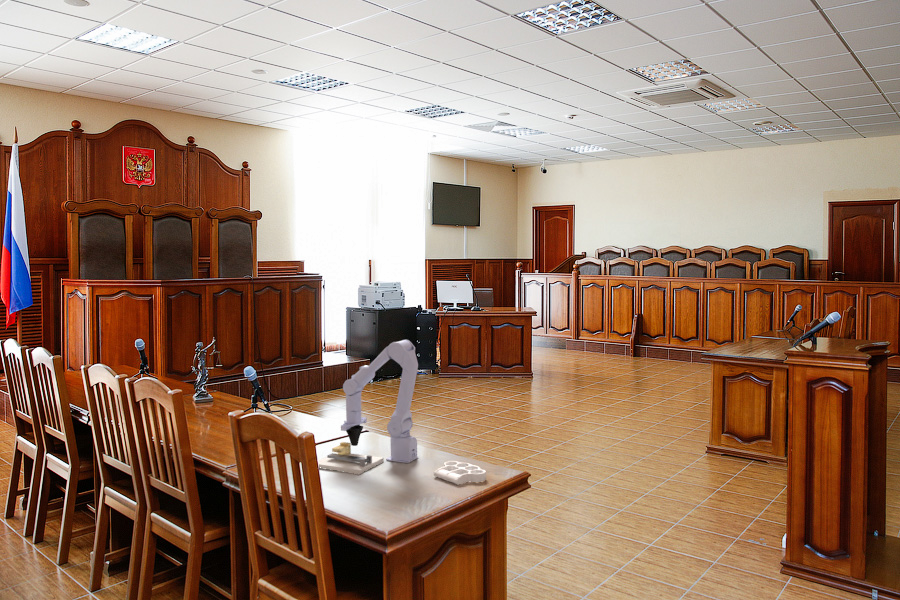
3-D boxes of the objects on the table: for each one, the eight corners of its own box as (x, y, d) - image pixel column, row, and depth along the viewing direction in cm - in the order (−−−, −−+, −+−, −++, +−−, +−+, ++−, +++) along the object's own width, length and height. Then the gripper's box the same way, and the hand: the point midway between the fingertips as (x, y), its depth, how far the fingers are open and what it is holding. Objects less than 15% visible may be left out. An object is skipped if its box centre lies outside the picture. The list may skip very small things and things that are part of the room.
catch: (350, 453, 246) (350, 442, 246) (340, 458, 240) (340, 447, 240) (342, 452, 247) (342, 441, 247) (332, 457, 241) (332, 446, 241)
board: (383, 461, 241) (383, 451, 241) (359, 474, 226) (359, 462, 226) (338, 455, 249) (338, 445, 249) (312, 467, 235) (312, 456, 235)
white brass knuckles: (427, 476, 224) (459, 467, 234) (463, 489, 211) (495, 479, 221) (427, 467, 224) (459, 458, 234) (463, 479, 211) (495, 469, 221)
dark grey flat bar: (369, 461, 234) (369, 457, 234) (365, 463, 231) (365, 459, 231) (332, 456, 241) (332, 452, 241) (327, 458, 238) (327, 454, 238)
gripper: (355, 405, 259) (356, 439, 259) (333, 413, 246) (334, 448, 246) (370, 406, 256) (371, 441, 256) (349, 414, 243) (350, 450, 243)
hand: (354, 445), depth 251 cm, fingers closed
